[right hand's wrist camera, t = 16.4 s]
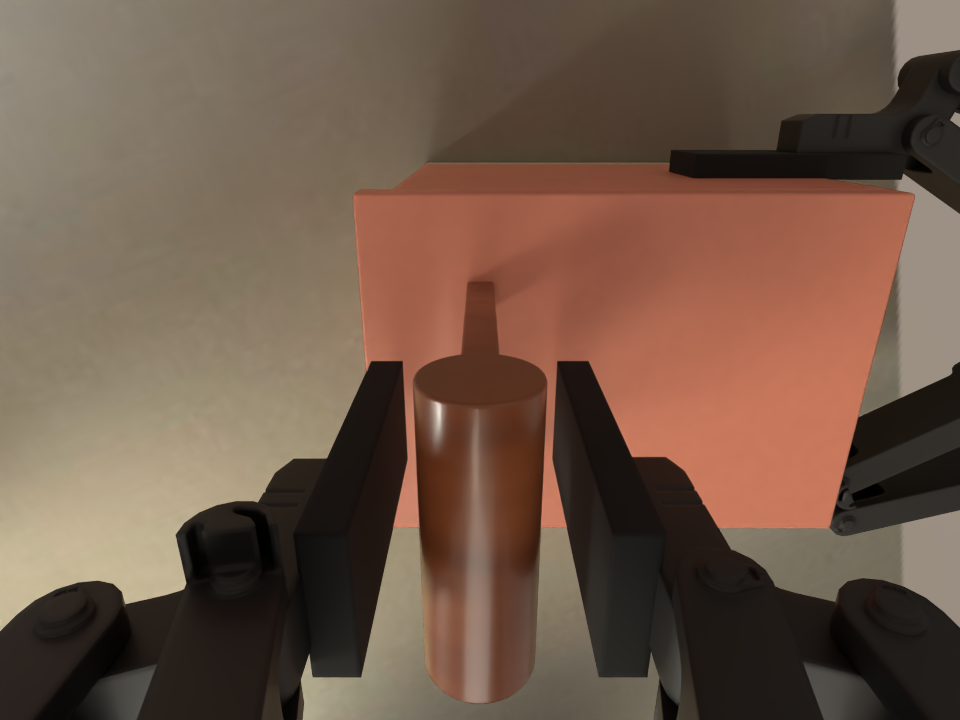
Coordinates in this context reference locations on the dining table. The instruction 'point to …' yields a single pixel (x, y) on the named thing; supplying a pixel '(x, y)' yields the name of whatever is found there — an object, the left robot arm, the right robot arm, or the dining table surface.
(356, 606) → the right robot arm
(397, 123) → the dining table surface
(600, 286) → the lid
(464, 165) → the chest
